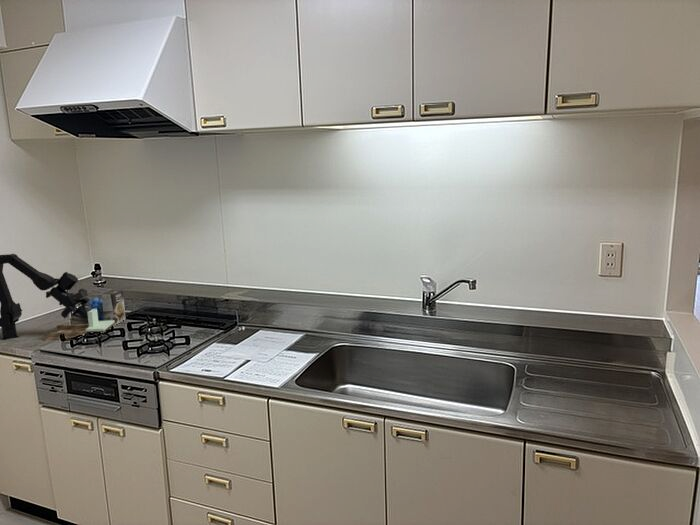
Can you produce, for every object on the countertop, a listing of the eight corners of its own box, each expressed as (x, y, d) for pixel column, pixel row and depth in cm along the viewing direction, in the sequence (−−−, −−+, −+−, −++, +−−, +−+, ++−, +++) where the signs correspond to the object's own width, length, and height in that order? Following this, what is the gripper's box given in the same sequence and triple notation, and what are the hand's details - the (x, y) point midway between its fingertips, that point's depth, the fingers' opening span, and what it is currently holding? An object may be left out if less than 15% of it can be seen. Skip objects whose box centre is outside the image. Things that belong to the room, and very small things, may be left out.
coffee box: (115, 325, 254) (112, 294, 252) (103, 325, 255) (100, 293, 253) (126, 320, 263) (123, 290, 260) (115, 320, 264) (112, 289, 261)
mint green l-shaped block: (85, 331, 235) (83, 314, 233) (97, 322, 248) (96, 306, 247) (103, 330, 235) (101, 313, 234) (114, 322, 249) (113, 306, 248)
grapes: (84, 322, 262) (81, 299, 260) (93, 318, 269) (90, 296, 267) (104, 322, 260) (102, 299, 258) (113, 319, 267) (110, 296, 265)
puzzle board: (43, 340, 233) (43, 334, 232) (60, 330, 248) (59, 324, 248) (102, 337, 235) (102, 332, 234) (115, 327, 251) (114, 322, 250)
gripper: (65, 288, 228) (93, 311, 231) (83, 280, 247) (109, 301, 250) (49, 306, 229) (77, 329, 232) (68, 297, 247) (94, 318, 250)
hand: (90, 318), depth 241 cm, fingers closed, pressing on mint green l-shaped block
